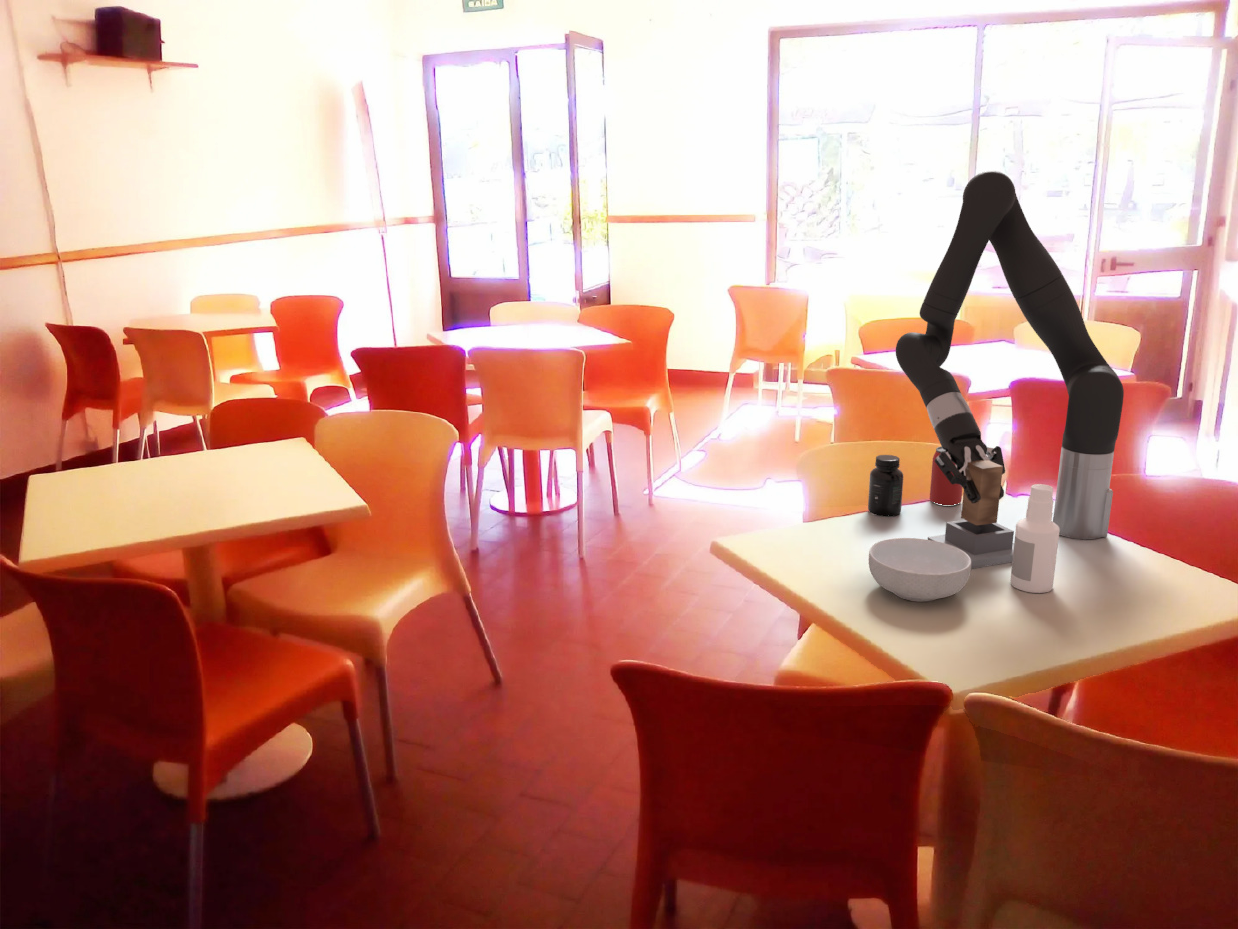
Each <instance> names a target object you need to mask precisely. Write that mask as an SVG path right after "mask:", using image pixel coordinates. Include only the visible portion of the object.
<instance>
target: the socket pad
mask: <svg viewBox="0 0 1238 929" xmlns="http://www.w3.org/2000/svg"><path fill="white" fill-rule="evenodd" d="M1014 532H1015V531H1014V530H1012V529H1010V528H1008V527H1005V525H1004V526H1003V525H1002V524H1000V523H998V522H997V523H991V524H984V525H977V526H976V525H974V524H972V523H970V522H968V521H966V520H964V519H961V520H954V521H953V520H952V521H947V522H946V523H945V534H940V535H933V536H927V540H932V541H937V542H941V543H945V544H948V545H951V546H954V547H956V548H959V549H960V550H962V551H964V552H965V553H966V554H967V555H968V556H969V557H970V559H971V570H972V569H977V568H983V567H989V566H995V565H996V566H997V565H1001V564H1009V563H1012V560H1013V551H1014V536H1015V533H1014Z"/></svg>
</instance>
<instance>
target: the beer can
mask: <svg viewBox="0 0 1238 929" xmlns="http://www.w3.org/2000/svg"><path fill="white" fill-rule="evenodd" d="M942 452H945V450H944V449H943V448H942V446H938V447H936V448H935V453H934V454H933V456H932V461H931V462H932V463H931V464H932V465H931V473H930V474H931V475H930V476H931V477H930V487H929V488H930V489H929V500H930V502H931V503H933V502H935V503H938V504H942V505H954V504H958V503H962V501H963V487H962V486H960V484H954V485H953V484H951V483H950V482H949V480H948V479H947V477H946V476H945V475H944V473H943V472H942V471H941V469H940V468H939V467H938V465H937V464H936V463H935V459H936V458H937V457H938V456H939V455H940V454H941V453H942ZM953 464H954V465H955V463H953ZM951 473H952V472H951ZM952 474H953V473H952ZM953 476H954V475H953ZM958 505H959V504H958Z"/></svg>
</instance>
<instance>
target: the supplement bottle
mask: <svg viewBox="0 0 1238 929" xmlns="http://www.w3.org/2000/svg"><path fill="white" fill-rule="evenodd" d="M900 460H901V459H900V457H898V456H897V455H892V454H880V455H877V456H876V457H875V463H874V465H875V467H874V468H872V470H871V471H870V474H869V482H868V486H869V487H868V501H867V502H868V503H867V509H868V512H869V513H871V514H872V515H874V516H878V517H896V516H898V515H899V514H901V512H902V505H903V504H902V503H903V491H904V488H903V487H904V474H903V471H902V470H901V469H899V468H900V466H901V464H900Z"/></svg>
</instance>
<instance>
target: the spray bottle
mask: <svg viewBox="0 0 1238 929" xmlns="http://www.w3.org/2000/svg"><path fill="white" fill-rule="evenodd" d="M1053 494H1054V487H1053V486H1051V485H1049V484H1044V483H1042V484H1041V483H1036V484H1032V485H1031V486H1030V495H1029V497H1028V499H1027V500H1028V501H1027V508H1026V512H1025V518H1023V519H1020V520H1018V522H1016V524H1015V531H1014V532H1015V533H1014V540H1013V543H1014V551H1013V560H1012V562H1011V571H1010V581H1009V582H1010V584H1011V586H1012V587H1013V588H1015V589H1017V590H1019V591H1022V592H1026V593H1031V594H1032V593H1033V594H1043V593H1048V592H1050V591H1051V590H1052V589H1053V588H1054V580H1055V573H1056V572H1055V571H1056V564H1057V554H1058V548H1059V539H1060V534H1059V532H1060V529H1059V526H1058V525H1056V524H1055V523H1054V522H1053V515H1054V512H1053V509H1054V508H1053V507H1054V506H1053V505H1054V499H1053Z"/></svg>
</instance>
